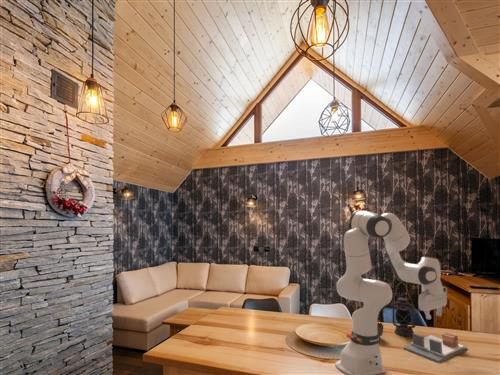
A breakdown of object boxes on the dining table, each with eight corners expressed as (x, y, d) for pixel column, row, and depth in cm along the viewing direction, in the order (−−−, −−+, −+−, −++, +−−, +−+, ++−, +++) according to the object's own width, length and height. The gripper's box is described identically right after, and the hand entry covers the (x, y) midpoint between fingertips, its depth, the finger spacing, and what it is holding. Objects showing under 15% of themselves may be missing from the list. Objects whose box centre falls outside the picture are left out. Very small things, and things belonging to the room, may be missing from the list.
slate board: (438, 362, 136) (438, 360, 136) (404, 349, 150) (403, 347, 151) (467, 349, 150) (467, 347, 150) (432, 337, 165) (432, 336, 165)
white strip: (444, 356, 140) (443, 344, 140) (427, 350, 146) (426, 338, 147) (464, 347, 150) (463, 335, 150) (447, 341, 156) (446, 330, 157)
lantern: (393, 335, 168) (390, 282, 171) (391, 329, 178) (389, 279, 181) (418, 338, 164) (414, 284, 167) (414, 331, 174) (411, 280, 177)
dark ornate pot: (385, 341, 160) (384, 326, 161) (371, 340, 161) (370, 325, 162) (382, 336, 167) (381, 322, 168) (368, 335, 169) (368, 321, 169)
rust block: (453, 347, 147) (452, 337, 148) (442, 344, 152) (442, 334, 152) (458, 345, 150) (457, 335, 150) (447, 342, 154) (447, 332, 155)
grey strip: (426, 349, 147) (425, 338, 147) (410, 344, 154) (409, 332, 154) (446, 341, 157) (445, 330, 158) (430, 336, 164) (430, 325, 164)
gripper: (426, 293, 139) (429, 323, 137) (448, 287, 149) (450, 315, 148) (413, 290, 144) (415, 319, 143) (435, 285, 155) (437, 312, 153)
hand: (433, 317), depth 145 cm, fingers open, 8 cm apart
